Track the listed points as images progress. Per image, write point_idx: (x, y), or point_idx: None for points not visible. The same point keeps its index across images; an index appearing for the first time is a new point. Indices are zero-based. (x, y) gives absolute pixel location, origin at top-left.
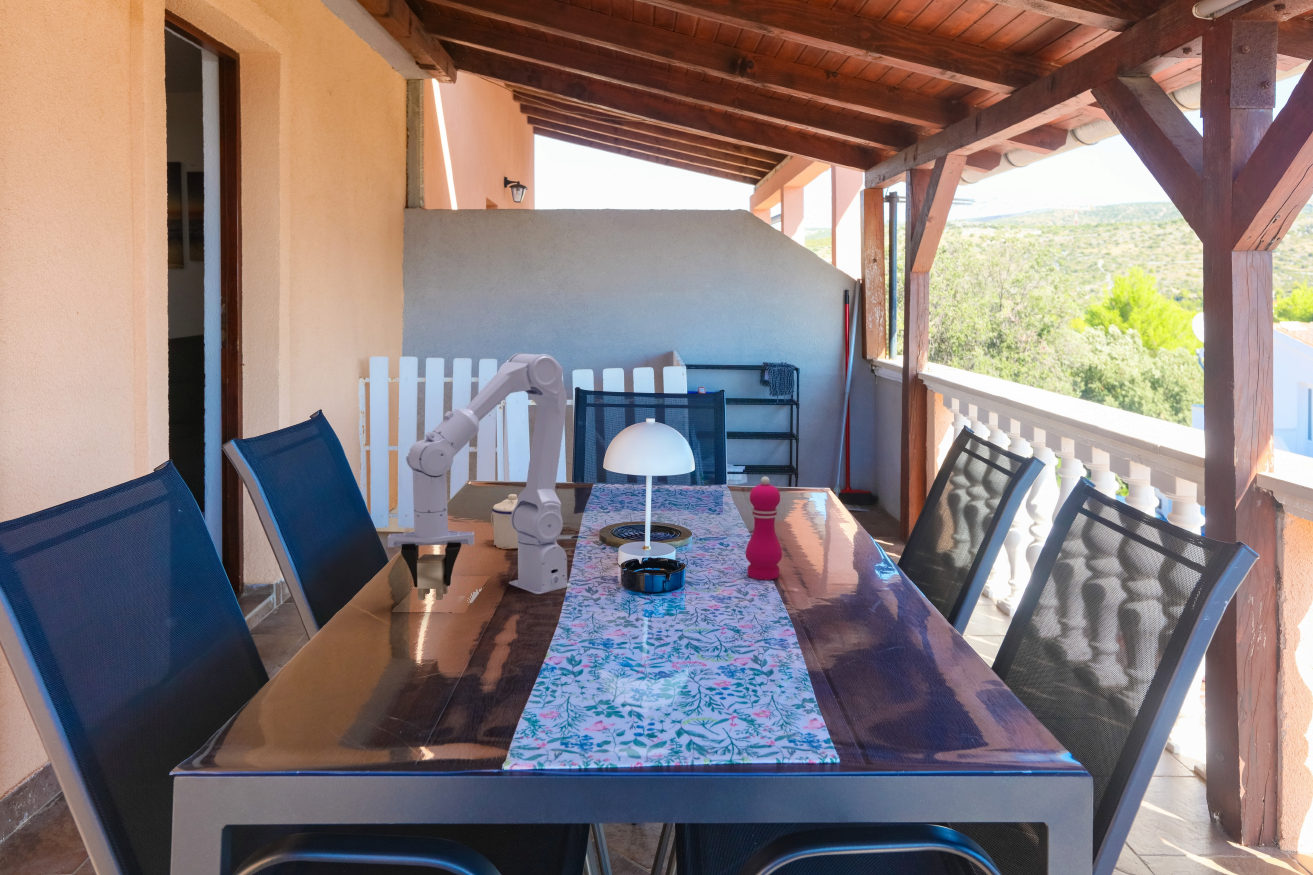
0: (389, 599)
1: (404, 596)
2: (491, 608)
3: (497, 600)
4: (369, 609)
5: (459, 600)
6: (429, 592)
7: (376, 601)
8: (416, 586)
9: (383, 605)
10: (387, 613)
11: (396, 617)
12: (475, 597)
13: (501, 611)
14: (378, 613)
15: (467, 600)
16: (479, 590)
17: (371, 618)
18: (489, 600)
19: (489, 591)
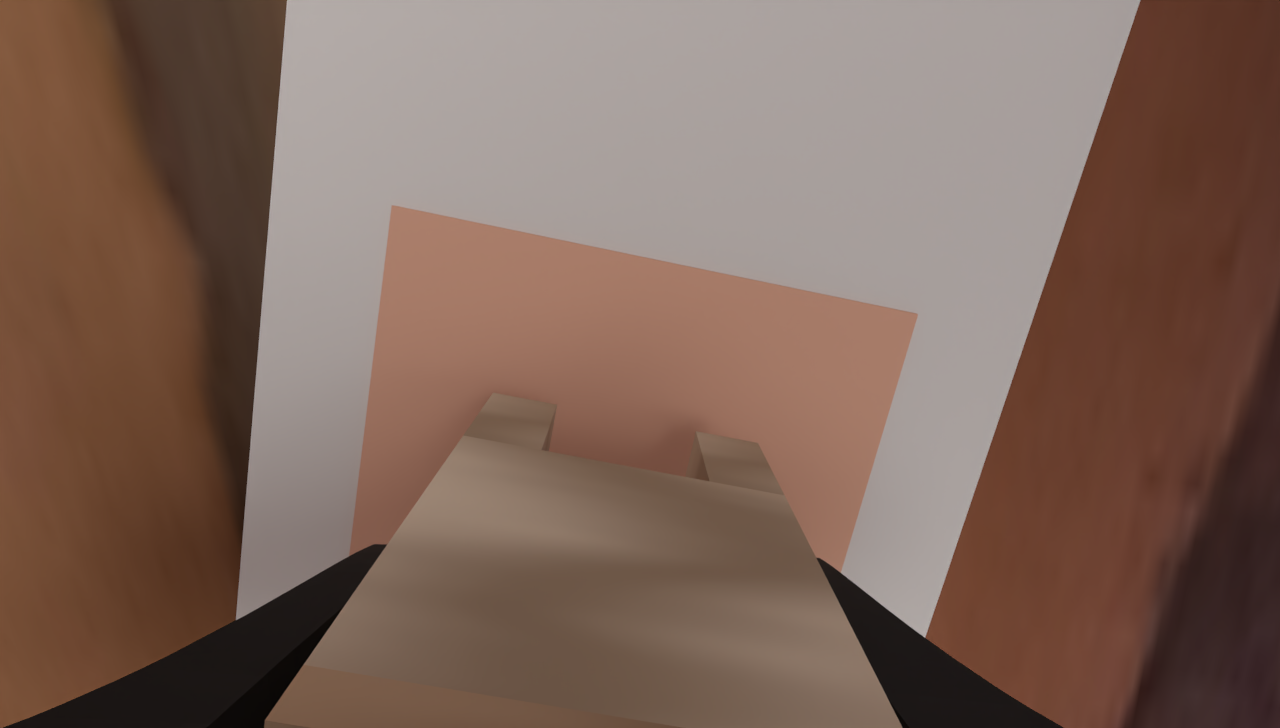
0: (128, 189)
1: (265, 104)
2: (1118, 614)
3: (1212, 401)
4: (27, 477)
5: (855, 437)
6: (551, 432)
7: (11, 238)
8: None
9: (124, 380)
10: (225, 607)
11: None
12: (1019, 352)
13: (1187, 698)
14: (146, 596)
15: (932, 433)
16: (1091, 97)
17: None
18: (1137, 388)
19: (1188, 68)
